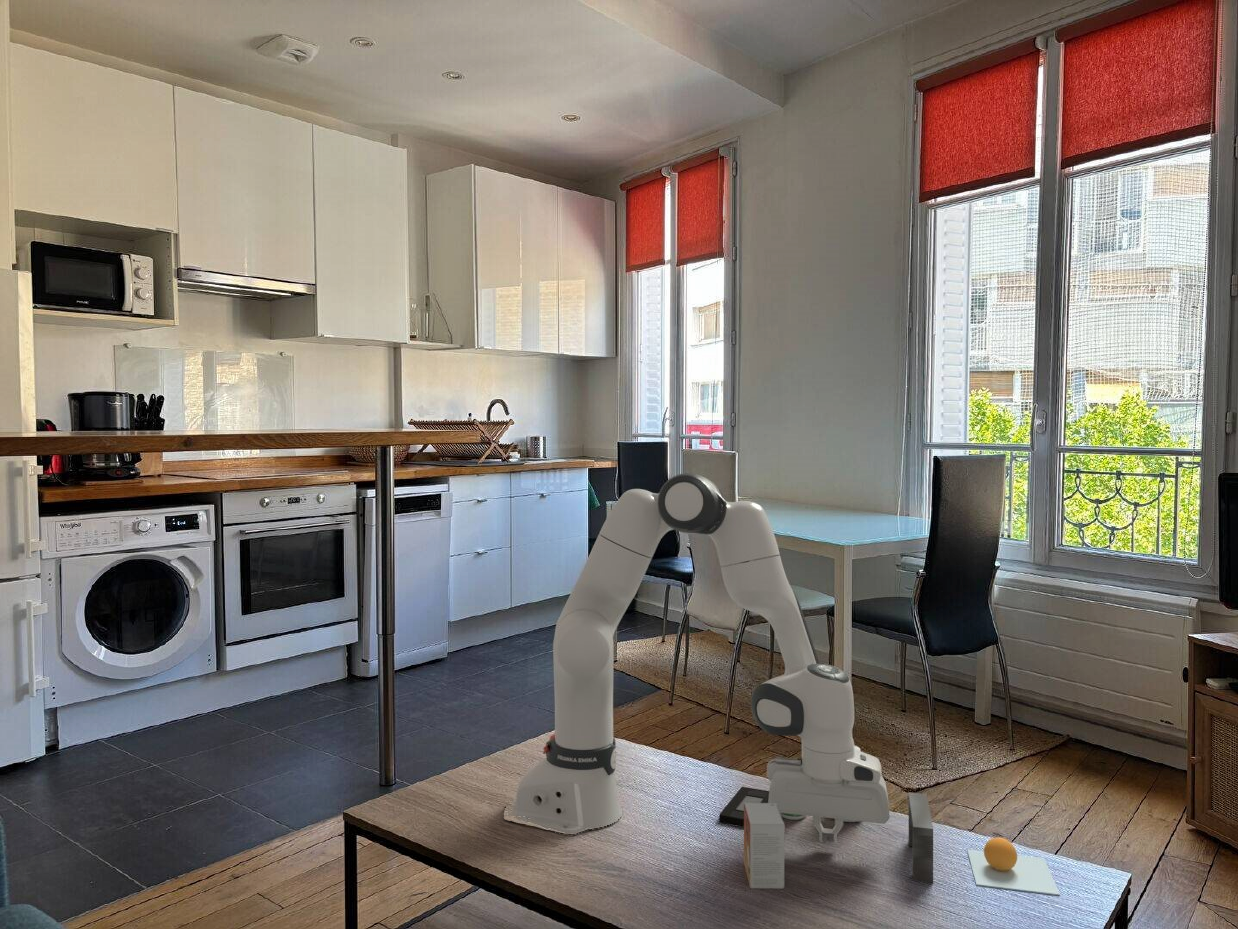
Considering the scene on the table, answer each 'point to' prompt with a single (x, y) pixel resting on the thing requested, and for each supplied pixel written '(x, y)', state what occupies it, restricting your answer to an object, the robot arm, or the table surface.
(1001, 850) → the ball
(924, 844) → the bridge
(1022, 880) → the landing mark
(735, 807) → the vhs tape
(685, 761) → the table surface
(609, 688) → the robot arm
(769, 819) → the small box
